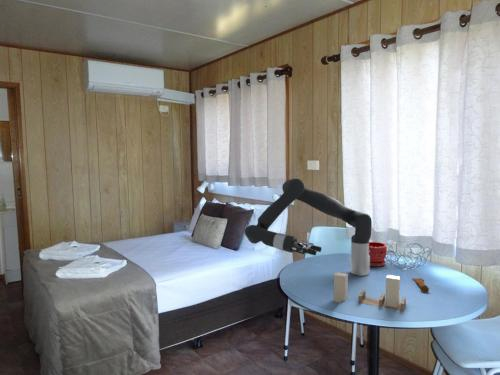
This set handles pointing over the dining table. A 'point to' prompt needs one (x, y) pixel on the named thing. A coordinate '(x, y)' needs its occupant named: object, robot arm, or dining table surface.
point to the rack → (379, 301)
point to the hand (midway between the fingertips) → (318, 251)
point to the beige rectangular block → (340, 287)
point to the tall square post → (392, 291)
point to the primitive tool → (421, 284)
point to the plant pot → (377, 253)
